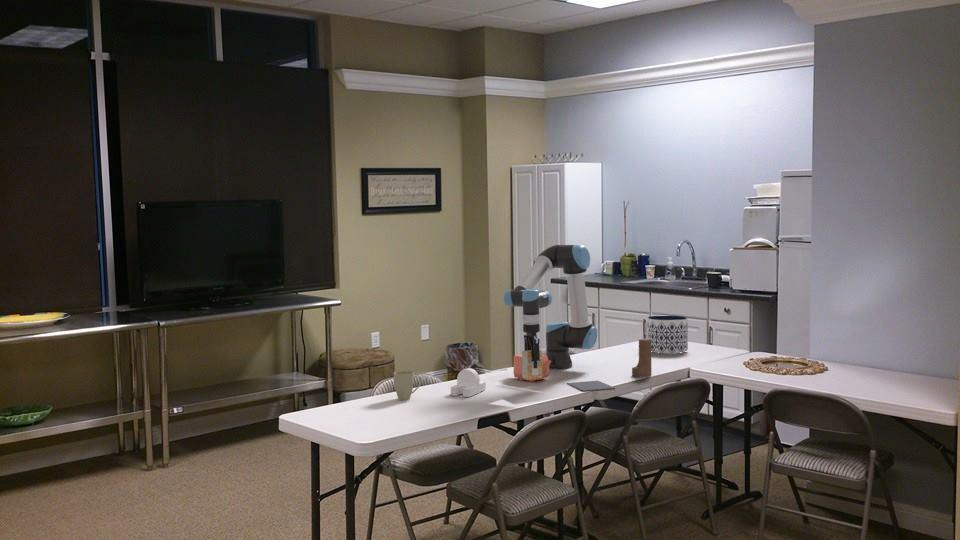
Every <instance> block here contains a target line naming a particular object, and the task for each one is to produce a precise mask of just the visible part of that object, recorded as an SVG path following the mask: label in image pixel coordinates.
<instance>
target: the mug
mask: <svg viewBox="0 0 960 540" xmlns="http://www.w3.org/2000/svg"><path fill="white" fill-rule="evenodd" d="M417 377H419V383H418V386H417V387H416V388H415V389H413V388H414V382H415V381H414V380H415V378H417ZM422 381H423V380H422V376H420V375H419V374H415V371H412V370H398V371H394V372H393V383H394V388H395V392H396V397H397V399H398V400H399V401H409V400H410V399H411V396H412V394H414V393H415V392H416V391H417V390H418V389H419V388H420V387H421V385H422Z"/></svg>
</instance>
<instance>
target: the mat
mask: <svg viewBox="0 0 960 540" xmlns="http://www.w3.org/2000/svg"><path fill="white" fill-rule="evenodd" d="M566 384H567V385H569V386H570V387H572V388H574V389H576V390H579V391H580V392H583V393H584V392H596V391H606V390H607V391H608V390H616V387H614V386H612V385H609V384H608V383H605V382H602V381H600V380H590V381H589V380H588V381H575V382H567V383H566Z"/></svg>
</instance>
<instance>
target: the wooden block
mask: <svg viewBox="0 0 960 540" xmlns="http://www.w3.org/2000/svg"><path fill="white" fill-rule="evenodd" d="M650 376H652V352H651V340H650V339H647V338H641V339H638V363H637V364H636V366H633V367H632V368H631V377H634V378H644V377H645V378H646V377H650Z"/></svg>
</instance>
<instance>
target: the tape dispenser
mask: <svg viewBox="0 0 960 540" xmlns="http://www.w3.org/2000/svg"><path fill="white" fill-rule="evenodd" d="M456 377H457V378H456V383H457V384H454V385H453V386H450V396H454V397H457V396H459V395H462V397H463V398H464V397H465V398H471V397H472V396H475V395H478V394H479V393H482V392H484V391H486V390H485V389H486V388H487V386H486V383H487V382H486V381H482V380H480V375H479V373H478V372H477V370H476V369H474V368H471V367H468V368H464V369H462V370H461V371H459V373H458V374H457V376H456ZM481 391H482V392H481Z"/></svg>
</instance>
